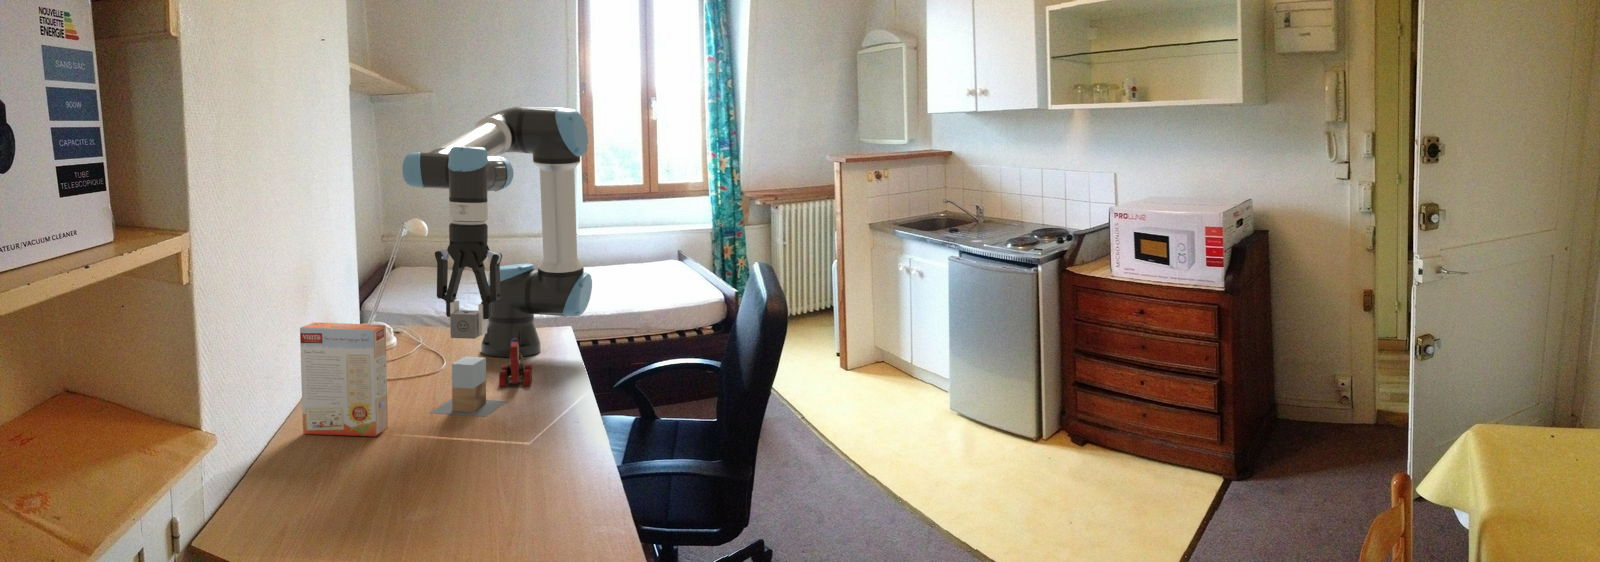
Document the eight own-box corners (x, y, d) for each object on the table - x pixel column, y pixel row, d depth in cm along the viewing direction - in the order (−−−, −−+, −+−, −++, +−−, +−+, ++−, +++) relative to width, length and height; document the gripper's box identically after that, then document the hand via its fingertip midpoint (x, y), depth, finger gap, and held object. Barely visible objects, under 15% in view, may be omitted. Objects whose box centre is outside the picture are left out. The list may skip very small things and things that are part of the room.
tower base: (466, 401, 211) (465, 379, 210) (485, 403, 210) (485, 380, 210) (452, 410, 204) (452, 387, 203) (472, 412, 203) (472, 388, 203)
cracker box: (389, 428, 191) (387, 323, 188) (375, 438, 185) (373, 329, 182) (317, 425, 191) (314, 320, 188) (301, 434, 185) (298, 326, 182)
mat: (453, 399, 213) (453, 397, 213) (507, 403, 213) (507, 401, 212) (429, 414, 201) (429, 412, 201) (486, 418, 201) (486, 416, 201)
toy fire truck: (532, 377, 235) (532, 335, 234) (529, 390, 223) (530, 346, 222) (502, 377, 234) (502, 335, 232) (498, 391, 222) (498, 346, 220)
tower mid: (465, 379, 210) (465, 356, 209) (485, 380, 210) (485, 357, 209) (452, 387, 203) (451, 363, 202) (472, 388, 203) (472, 365, 202)
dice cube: (482, 334, 206) (482, 310, 205) (475, 338, 201) (475, 314, 200) (458, 333, 206) (458, 309, 205) (450, 338, 201) (450, 313, 200)
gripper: (416, 221, 198) (418, 334, 202) (505, 226, 197) (505, 339, 200) (433, 218, 206) (434, 327, 209) (518, 223, 204) (518, 332, 208)
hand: (468, 333), depth 205 cm, fingers closed on dice cube, 5 cm apart
